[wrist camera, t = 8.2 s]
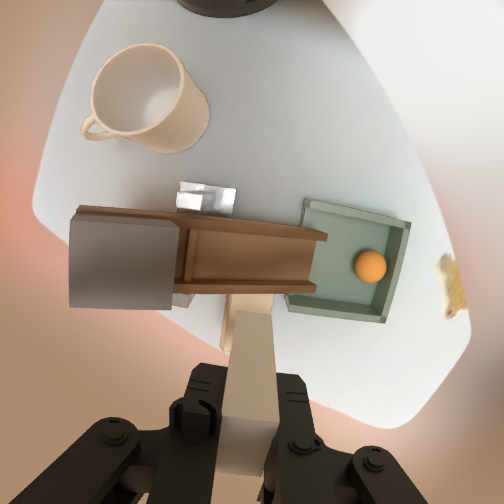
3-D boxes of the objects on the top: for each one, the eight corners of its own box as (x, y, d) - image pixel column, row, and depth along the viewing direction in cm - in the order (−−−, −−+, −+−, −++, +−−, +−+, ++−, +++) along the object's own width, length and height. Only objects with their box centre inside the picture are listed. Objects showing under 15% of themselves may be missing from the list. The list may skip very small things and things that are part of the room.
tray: (304, 198, 33) (311, 200, 30) (396, 218, 34) (411, 222, 30) (284, 298, 36) (288, 311, 32) (373, 310, 36) (385, 323, 32)
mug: (121, 172, 33) (64, 169, 21) (107, 107, 31) (52, 81, 20) (218, 140, 32) (198, 117, 20) (200, 73, 31) (176, 25, 19)
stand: (182, 181, 33) (155, 180, 24) (236, 189, 33) (228, 190, 24) (170, 276, 35) (143, 307, 26) (221, 285, 36) (209, 320, 26)
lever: (80, 202, 21) (70, 213, 16) (312, 226, 31) (353, 240, 26) (80, 348, 24) (78, 390, 19) (287, 339, 34) (319, 368, 29)
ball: (393, 254, 32) (365, 246, 35) (385, 256, 30) (354, 247, 32) (385, 284, 33) (358, 275, 35) (376, 289, 30) (346, 279, 33)
